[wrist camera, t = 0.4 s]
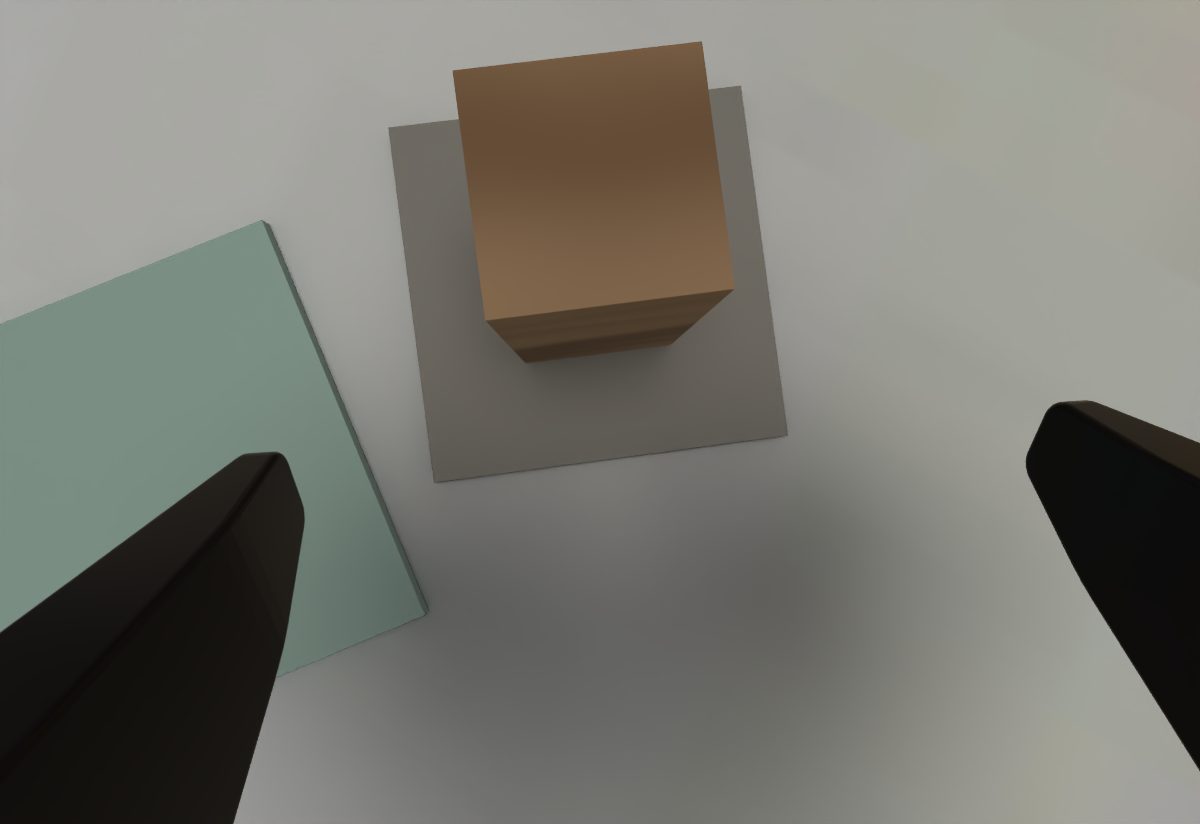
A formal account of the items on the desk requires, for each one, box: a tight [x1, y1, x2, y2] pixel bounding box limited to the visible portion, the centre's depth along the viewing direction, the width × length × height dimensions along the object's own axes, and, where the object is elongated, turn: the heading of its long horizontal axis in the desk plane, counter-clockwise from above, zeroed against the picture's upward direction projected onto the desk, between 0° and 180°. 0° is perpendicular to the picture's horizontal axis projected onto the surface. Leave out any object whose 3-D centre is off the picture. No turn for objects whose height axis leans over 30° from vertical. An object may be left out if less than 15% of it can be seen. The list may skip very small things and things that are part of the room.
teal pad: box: [0, 220, 428, 677], centre depth 21 cm, size 13×13×1 cm
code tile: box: [389, 86, 788, 482], centre depth 22 cm, size 11×11×1 cm
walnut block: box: [453, 42, 735, 363], centre depth 17 cm, size 4×4×9 cm
